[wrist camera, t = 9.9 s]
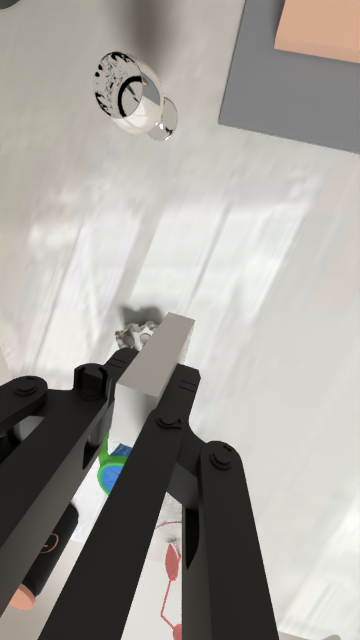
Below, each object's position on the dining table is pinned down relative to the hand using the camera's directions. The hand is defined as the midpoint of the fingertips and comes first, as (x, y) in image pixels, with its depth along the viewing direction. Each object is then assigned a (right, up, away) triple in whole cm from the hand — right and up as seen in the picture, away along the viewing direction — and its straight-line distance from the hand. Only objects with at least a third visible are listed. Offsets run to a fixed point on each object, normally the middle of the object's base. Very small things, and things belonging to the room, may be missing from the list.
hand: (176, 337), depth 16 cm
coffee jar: (-31, -50, +60) cm, 84 cm away
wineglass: (-2, +26, +19) cm, 32 cm away
